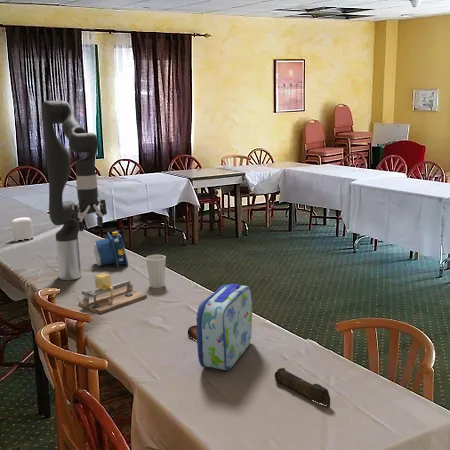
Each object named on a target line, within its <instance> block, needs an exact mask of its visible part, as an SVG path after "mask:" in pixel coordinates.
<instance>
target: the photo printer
mask: <svg viewBox="0 0 450 450" xmlns="http://www.w3.org/2000/svg"><path fill="white" fill-rule="evenodd" d="M32 222H33V221H32V219H31V217H23V216H22V217H18V218H15V219H12V221H11V226H12V228H11V229H12V234H13V235H12V236H13V241H14V240H15V241H14V242H19V241H18V240H22V241H25V240H24V239H29V238H33V239H34V232H33V231H34V230H33V223H32ZM29 240H30V239H29Z"/></svg>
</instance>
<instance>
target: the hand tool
mask: <svg viewBox="0 0 450 450" xmlns="http://www.w3.org/2000/svg"><path fill="white" fill-rule="evenodd" d="M274 378H275V382H276V383H279V384H283V385H285V386H287V387H289V388H290V389H293V391H296V392H298V393H300V394H302V395H304V396H306V397H307V398H309V399H312V400H314V401H316V402H318V403H322V404H324V405H327V406H330V407H331V396H330V392H329V390H328V389H327V388H326V387H323V386H322V385H321V384H319V383H311V382H308V381H306V380H304V379H303V378H301V377H298V376H297V375H296V374H294V373H291V372H289V371H287V370H286V368H285V367H281V368H278V369H277V370H276V371H275V372H274Z"/></svg>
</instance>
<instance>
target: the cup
mask: <svg viewBox="0 0 450 450" xmlns="http://www.w3.org/2000/svg"><path fill="white" fill-rule="evenodd" d="M166 257H167V256H165V255H162V254H152V255H147V256H146V258H145V260H146V267H147V268H146V269H147V274H148V275H147V276H148V281H149V287H150V288H154V289H158V288H163V287H165V286H166V261H167V260H166Z"/></svg>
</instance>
